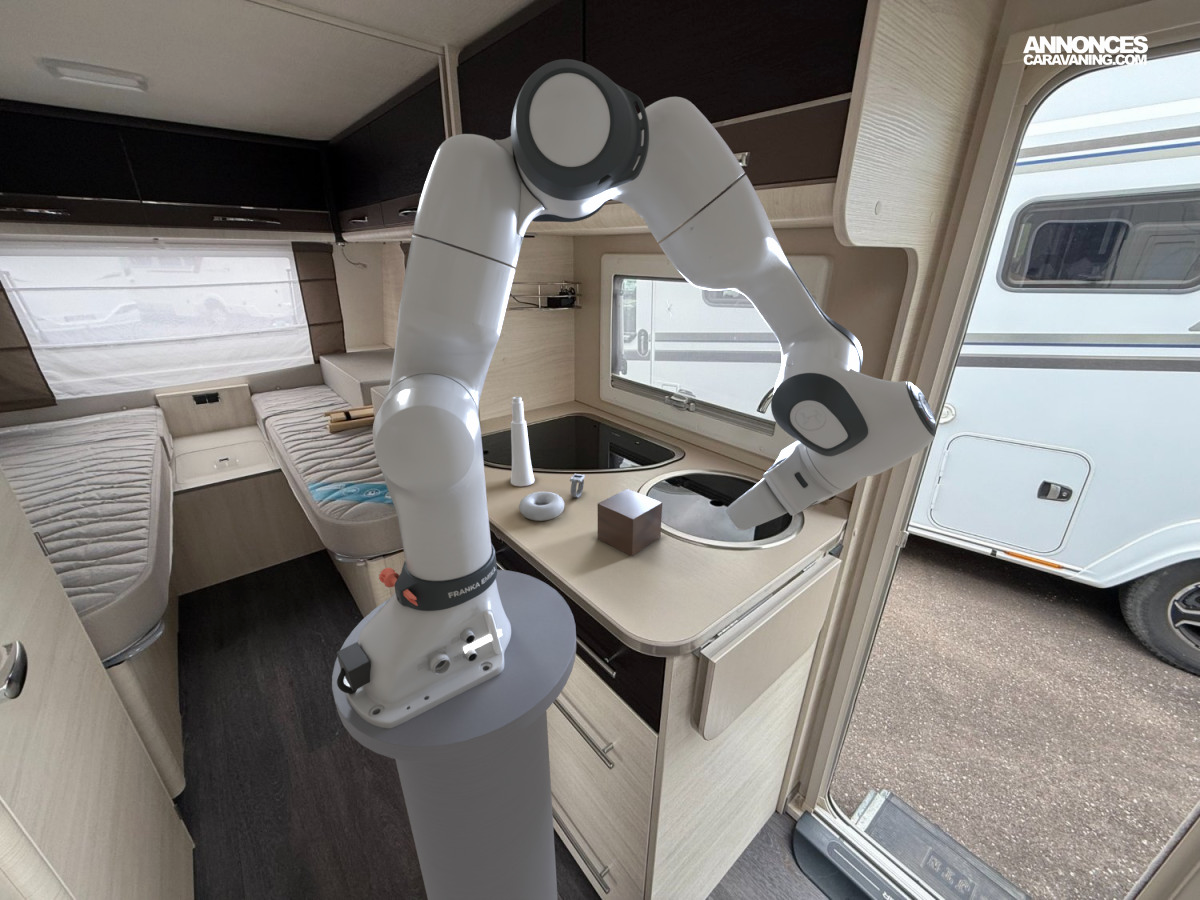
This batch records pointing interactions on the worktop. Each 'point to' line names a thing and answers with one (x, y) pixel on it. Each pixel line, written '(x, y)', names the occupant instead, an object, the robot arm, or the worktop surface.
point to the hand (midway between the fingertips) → (738, 510)
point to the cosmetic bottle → (520, 447)
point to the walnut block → (629, 521)
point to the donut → (541, 506)
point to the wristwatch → (576, 479)
